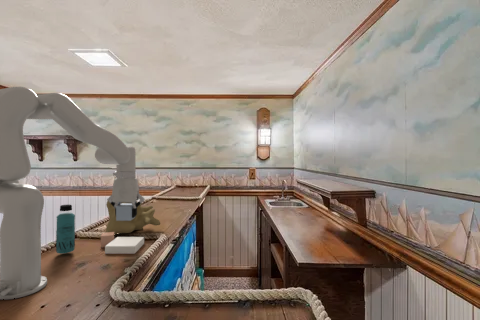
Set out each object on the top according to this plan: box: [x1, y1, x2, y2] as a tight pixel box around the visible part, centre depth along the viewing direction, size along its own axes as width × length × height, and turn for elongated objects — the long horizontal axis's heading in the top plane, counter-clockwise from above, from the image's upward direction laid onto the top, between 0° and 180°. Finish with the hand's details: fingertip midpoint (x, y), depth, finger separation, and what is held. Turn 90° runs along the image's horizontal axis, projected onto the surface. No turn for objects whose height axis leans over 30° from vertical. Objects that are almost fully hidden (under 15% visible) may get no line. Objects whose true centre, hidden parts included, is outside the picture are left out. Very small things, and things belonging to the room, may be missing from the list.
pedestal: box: [104, 236, 145, 255], centre depth 115 cm, size 12×12×3 cm
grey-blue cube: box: [116, 203, 135, 221], centre depth 115 cm, size 6×6×6 cm
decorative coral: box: [105, 200, 161, 234], centre depth 138 cm, size 26×22×25 cm
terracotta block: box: [100, 232, 115, 248], centre depth 119 cm, size 5×5×5 cm
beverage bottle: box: [55, 204, 76, 255], centre depth 107 cm, size 6×7×20 cm
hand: (126, 216), depth 115 cm, fingers closed on grey-blue cube, 6 cm apart
